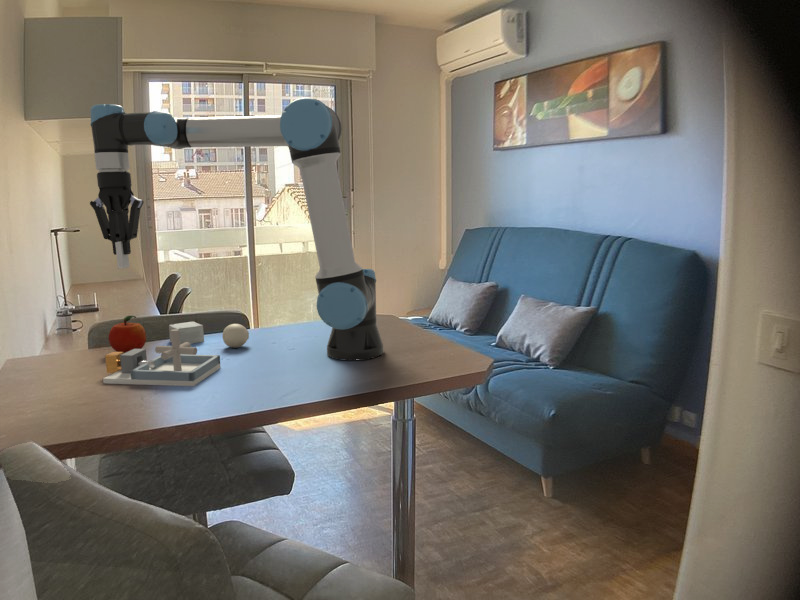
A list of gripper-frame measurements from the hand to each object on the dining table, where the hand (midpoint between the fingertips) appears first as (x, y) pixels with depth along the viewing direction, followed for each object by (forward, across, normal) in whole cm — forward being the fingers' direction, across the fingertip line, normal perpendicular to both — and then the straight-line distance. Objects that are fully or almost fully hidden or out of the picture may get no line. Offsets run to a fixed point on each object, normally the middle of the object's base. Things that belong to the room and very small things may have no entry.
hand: (123, 267), depth 158 cm
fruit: (+25, +8, -12) cm, 29 cm away
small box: (+26, -2, -25) cm, 36 cm away
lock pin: (+24, -4, +8) cm, 26 cm away
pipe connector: (+24, -16, +8) cm, 30 cm away
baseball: (+26, -20, -20) cm, 38 cm away
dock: (+25, -12, +8) cm, 29 cm away
